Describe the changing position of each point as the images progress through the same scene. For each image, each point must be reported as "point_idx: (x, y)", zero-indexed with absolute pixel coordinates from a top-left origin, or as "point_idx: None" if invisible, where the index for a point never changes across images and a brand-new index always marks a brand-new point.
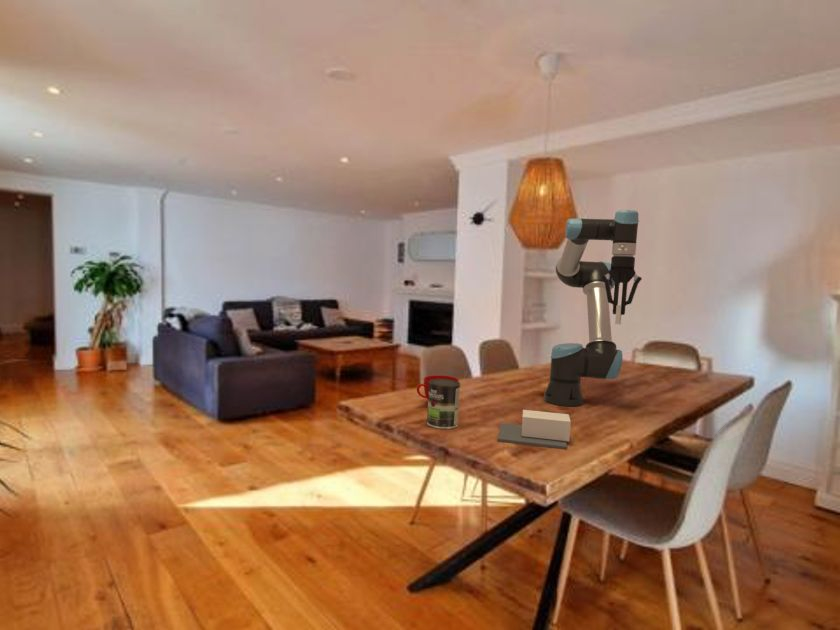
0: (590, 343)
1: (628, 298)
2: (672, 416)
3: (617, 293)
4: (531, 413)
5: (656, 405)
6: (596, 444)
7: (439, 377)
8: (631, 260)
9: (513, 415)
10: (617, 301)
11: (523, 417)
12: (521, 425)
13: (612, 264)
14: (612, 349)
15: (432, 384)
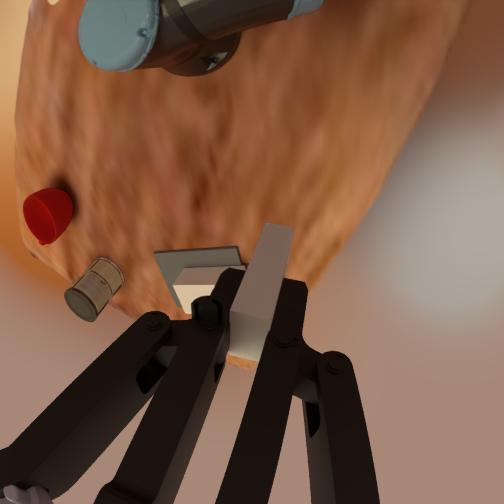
0: None
1: (306, 429)
2: (442, 45)
3: (194, 442)
4: (188, 297)
5: None
6: (289, 278)
7: (27, 199)
8: None
9: (147, 195)
10: (216, 349)
11: (187, 313)
12: (178, 253)
13: None
14: None
15: (80, 317)
